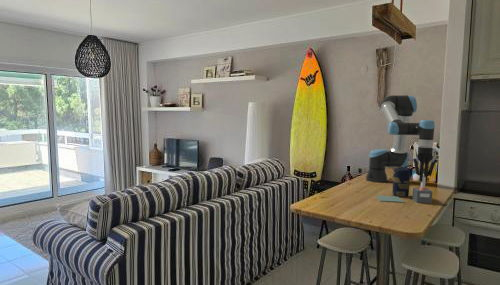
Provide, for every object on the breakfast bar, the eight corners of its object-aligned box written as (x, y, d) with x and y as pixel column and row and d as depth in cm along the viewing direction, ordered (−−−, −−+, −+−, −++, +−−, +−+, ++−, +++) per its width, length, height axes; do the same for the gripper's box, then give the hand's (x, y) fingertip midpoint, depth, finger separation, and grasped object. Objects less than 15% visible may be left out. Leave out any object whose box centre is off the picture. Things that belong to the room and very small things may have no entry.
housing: (412, 199, 203) (413, 187, 203) (426, 199, 202) (427, 188, 201) (416, 202, 195) (417, 190, 194) (431, 203, 194) (432, 191, 193)
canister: (410, 198, 205) (412, 168, 204) (393, 197, 207) (395, 167, 205) (406, 194, 215) (408, 166, 213) (390, 193, 216) (392, 165, 215)
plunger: (417, 198, 201) (418, 186, 200) (424, 198, 200) (424, 187, 199) (419, 200, 197) (420, 188, 196) (426, 200, 196) (427, 188, 196)
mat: (375, 196, 208) (375, 195, 208) (398, 197, 206) (398, 196, 206) (380, 201, 197) (380, 200, 197) (403, 202, 195) (403, 201, 194)
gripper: (415, 147, 193) (412, 188, 195) (440, 148, 191) (437, 189, 193) (411, 145, 200) (408, 185, 202) (435, 146, 198) (432, 186, 200)
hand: (422, 187), depth 198 cm, fingers closed
